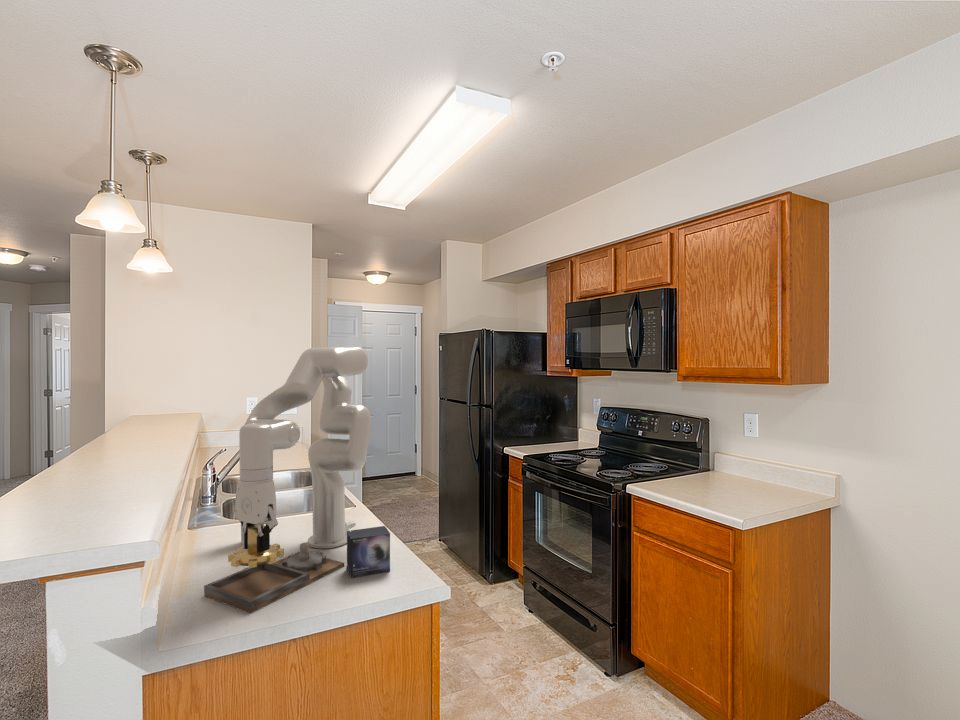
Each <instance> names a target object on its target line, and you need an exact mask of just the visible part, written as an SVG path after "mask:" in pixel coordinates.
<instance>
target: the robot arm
mask: <svg viewBox="0 0 960 720" xmlns="http://www.w3.org/2000/svg"><path fill="white" fill-rule="evenodd" d="M368 365H369V357H368V354H367V352H366V350H364V349H363V348H362V347H359V346H358V347H357V346H348V347H347V346H344V347H343V346H342V347H341V346H338V347H337V346H336V347H335V346H334V347H332V346H331V347H312V348H311V347H310V348H308V349H306V350H304V351H303V352H302V353H301V355H300V356H299V358H298V359H297V361H296V363H295V365H294V367H293V369H292V370H291V372H290V373H289V376H288V378H287V379H286V381H285V383H284V384H283V385H282V386H280V387H278V388H277V389H274V391H272V392H271V393H269V394H268V395H267V396H265V397H264V398H262V399H260V401H259V402H258V403H257V404H256V405H255V406H254V408H253V409H252V410H251V413H250V414H249V415H248V418H247V419H246V421H245V423H244V424H243V425H241V427H240V429H239V435H238V437H239V442H238V445H239V479H238V481H237V485H236V489H235V490H236V491H235V504H234V518H235V519H236V520H237V521H239V522H240V526H241V525H242V527H243V529H242V530H243V532H245V533H244V549H248V527H250V526H253V525H258V533H259V536H257V552H258V553H261V552H263V551H266V550H268V549H269V548H270V545H271V537H270V534H272V531H273V529H274V528H275V527H277V526H278V525H279V521H278V519H277V495H276V489H275V488H276V487H275V480H274V457H273V456H274V451H276V450H287V449H290V448H292V447H294V446H295V445H296V444H297V443H298V442H299V440H300V438H301V429H300V426H299V425H298V424H297V423H296V422H295V421H293V420H289V419H276V418H277V417H278V416H279V415H281V414H283V413H285V412H286V411H289V410H292V409H295V408H298V407H300V406H303V405H306V404H308V403H309V402H311V401H312V400H313V399H314V397H315V395H316V394H317V393H316V392H317V390H318V388H319V387H320V385H321V383H322V384H323V397H322V402H321V403H322V404H321V407H320V408H321V409H320V415H319V420H318V421H319V423H318V425H319V430H320V431H321V432H322V433H324V434H327V435H333V436H334V435H335V436H349V437H348V438H349V439H347V438H320V439H317V440H314V442H312V443H311V444H310V446H309V449H308V453H307V454H308V455H307V456H308V463H309V466H310V467H309V468H310V473H311V482H312V483H311V488H312V490H311V491H312V493H311V495H312V535H311V536H309V537H308V539H307V543H309V547H311V548H314V549H332V548H338V547H342V546H344V545H347V531H350V529H353V528H355V527H356V522H355V521H354V520H351V521H349V522H348V523H347V522H346V517H345V516H346V510H345V509H346V508H345V506H346V504H345V502H346V501H345V499H346V498H345V497H346V496H345V489H346V488H345V480H344V478H343V475H342V474H341V472H357V471H360V470H362V469H363V467H364V466H365V463H366V460H367V456H368V448H369V441H370V434H371V426H372V417H371V413H370V410H369V409H368V407H367V406H365V405H362V404H351V401H352V400H351V399H352V393H353V392H352V387H351V385H350V383H349V381H348V379H347V378H346V377H351V376H358V375H361V374H363V373H364V372H365V371H366V369H367V368H368ZM263 525H265V527H264V528H263Z"/></svg>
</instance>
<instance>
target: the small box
mask: <svg viewBox="0 0 960 720" xmlns="http://www.w3.org/2000/svg"><path fill="white" fill-rule="evenodd" d="M346 570H347V572H348V575H349V577H350V578H358V577H362V576H363V577H365V576H369V575H375V574H380V573H381V574H382V573H387V572H390V571H391V533H390V531H389V530H388V528H387V527H386V526H385V525H381V526H374V527H368V528H365V527H364V528H359V529H352V530H350V529H349V530H348V531H347V543H346Z"/></svg>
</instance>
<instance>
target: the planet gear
mask: <svg viewBox="0 0 960 720" xmlns="http://www.w3.org/2000/svg"><path fill="white" fill-rule="evenodd" d="M265 526H266V524H264V525H263V528H264V527H265ZM257 536H259V533H258V525H253V526H250V527H248V549H244V546H243V545H242V546H241V547H238V548H236V551H235V552H229V553H228V555H227V556H228V557H227V561H228V562H229V563H230V566H231V567H232V568H233V567H234V568H238V567H241V566H243V567H244V566H245V567H247V568H254V567H257V565H261V564H265V563H268V564H272V563H274V562H277V561H278V559H277V558H284V555H285V548H283V547H282V548H281V544H279V543H273V544H270V548H269V549H268V550H266V551H263V552H261V553H258V552H257Z"/></svg>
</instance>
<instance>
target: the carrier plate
mask: <svg viewBox="0 0 960 720" xmlns="http://www.w3.org/2000/svg"><path fill="white" fill-rule="evenodd" d="M344 567H345V562H343V561H340V560H339V561H338V560H336V559H333V558H332V559H331V558H327V555H323V552H322V551H316V552H310V546H309V543H308V542H302V543H300V544H299V551H297V552H295V553H292V554H290V555H288V556H286V557H282V558H281V559H279V560H277V562H274V563H272V564H268V563H265V564H261V565H257V567H254V568H248V567H246V568H244V569H241V570H238V571H237V572H234V573H231V574H230V575H226V576H225V577H222V578H220V579H217V580H214V581H213V582H209V583H208V584H204V586H203V596H204V598H209V599H211V600H213V601H217V602H219V603H220V604H221V603H222V604H225V605H228V606H230V607H233V608H236V609H238V610H241V611H244V612H246V613H249V614H252V613H253V612H256V611H258V610H260V609H261V608H263V607H265V606H268V605H269V604H271V603H274V602H276V601H277V600H280V599H283V598H284V597H286V596H288V595H289V594H292V593H294V592H295V591H298V590H300V589H301V588H303V587H304V588H305V587H306V586H308V585H310V584H312V583H314V582H316V581H318V580H319V579H322V578H324V577H326V576H327V575H329V574H331V573H334V572H336V571H338V570H339V569H341V568H344Z"/></svg>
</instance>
